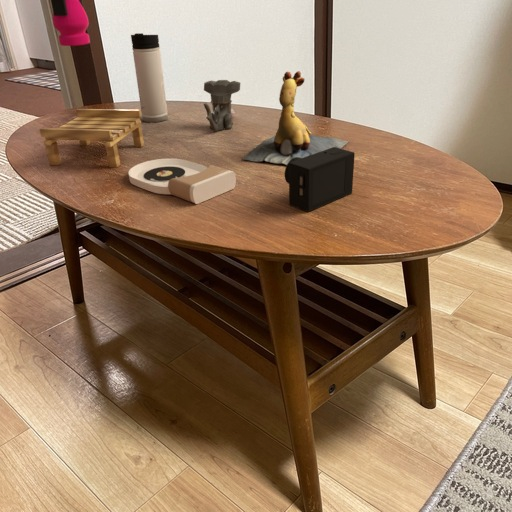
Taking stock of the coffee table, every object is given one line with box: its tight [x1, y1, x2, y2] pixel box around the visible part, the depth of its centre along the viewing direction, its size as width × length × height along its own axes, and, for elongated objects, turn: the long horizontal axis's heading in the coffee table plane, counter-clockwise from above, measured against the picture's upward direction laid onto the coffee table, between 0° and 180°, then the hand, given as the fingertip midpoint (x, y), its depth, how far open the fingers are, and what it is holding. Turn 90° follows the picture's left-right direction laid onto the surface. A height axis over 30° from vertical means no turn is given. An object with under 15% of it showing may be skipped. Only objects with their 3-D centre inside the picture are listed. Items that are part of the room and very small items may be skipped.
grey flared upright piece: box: [203, 79, 241, 132], centre depth 119 cm, size 14×18×10 cm
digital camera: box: [284, 147, 355, 213], centre depth 81 cm, size 10×5×7 cm, turn 131°
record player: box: [128, 158, 237, 205], centre depth 90 cm, size 12×3×20 cm
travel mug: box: [130, 32, 169, 123], centre depth 123 cm, size 6×7×20 cm
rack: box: [39, 108, 145, 169], centre depth 103 cm, size 14×15×7 cm
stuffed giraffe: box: [241, 70, 350, 166], centre depth 100 cm, size 16×18×16 cm
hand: (69, 13), depth 109 cm, fingers closed on pepper mill, 6 cm apart
